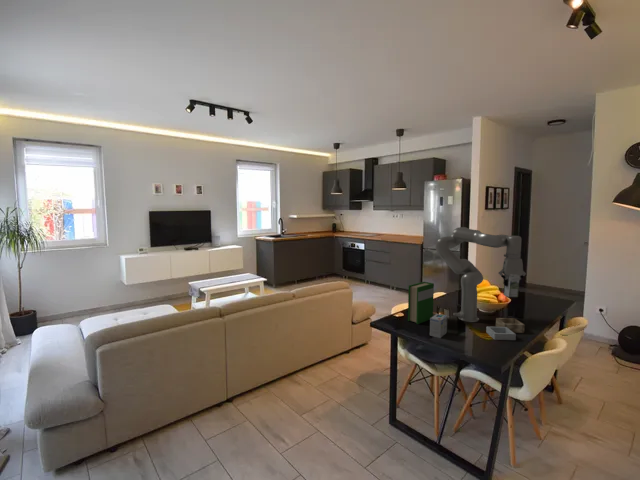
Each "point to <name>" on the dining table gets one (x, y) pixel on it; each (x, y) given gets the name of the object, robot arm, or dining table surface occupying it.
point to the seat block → (501, 333)
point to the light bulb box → (438, 325)
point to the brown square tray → (510, 324)
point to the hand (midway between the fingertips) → (511, 285)
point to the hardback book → (420, 302)
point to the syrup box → (512, 286)
